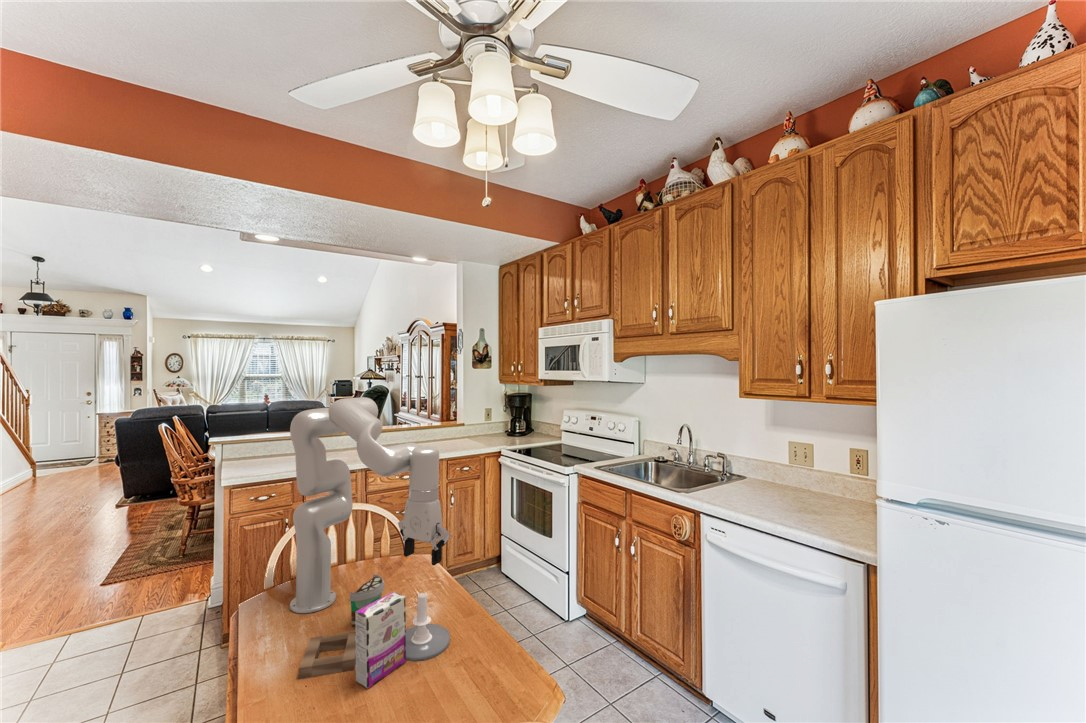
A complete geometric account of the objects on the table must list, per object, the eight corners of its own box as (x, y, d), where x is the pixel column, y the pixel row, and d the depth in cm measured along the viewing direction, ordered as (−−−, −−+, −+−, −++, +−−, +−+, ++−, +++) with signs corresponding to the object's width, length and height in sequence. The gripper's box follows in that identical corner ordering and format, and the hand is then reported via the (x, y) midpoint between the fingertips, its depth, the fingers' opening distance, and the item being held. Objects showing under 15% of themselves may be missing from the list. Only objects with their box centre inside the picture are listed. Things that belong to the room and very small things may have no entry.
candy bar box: (392, 655, 112) (393, 590, 113) (406, 662, 110) (407, 595, 110) (353, 682, 103) (354, 610, 103) (367, 690, 100) (368, 617, 100)
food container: (368, 632, 122) (369, 595, 122) (348, 629, 123) (349, 593, 123) (392, 608, 134) (392, 575, 134) (374, 606, 135) (374, 573, 135)
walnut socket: (310, 647, 115) (310, 638, 115) (360, 640, 118) (360, 630, 119) (298, 679, 104) (299, 668, 104) (354, 669, 107) (354, 659, 107)
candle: (408, 637, 118) (408, 591, 118) (427, 630, 121) (427, 586, 121) (415, 647, 114) (416, 600, 114) (435, 640, 117) (436, 594, 117)
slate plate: (395, 632, 122) (395, 628, 122) (447, 624, 126) (447, 620, 126) (393, 665, 109) (393, 660, 109) (451, 655, 112) (451, 650, 112)
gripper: (389, 492, 119) (388, 557, 119) (439, 503, 110) (437, 572, 110) (410, 486, 125) (409, 547, 125) (458, 496, 117) (457, 561, 117)
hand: (422, 559), depth 118 cm, fingers open, 9 cm apart
